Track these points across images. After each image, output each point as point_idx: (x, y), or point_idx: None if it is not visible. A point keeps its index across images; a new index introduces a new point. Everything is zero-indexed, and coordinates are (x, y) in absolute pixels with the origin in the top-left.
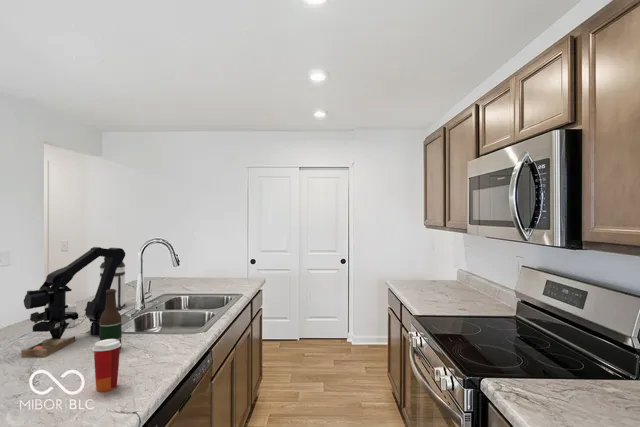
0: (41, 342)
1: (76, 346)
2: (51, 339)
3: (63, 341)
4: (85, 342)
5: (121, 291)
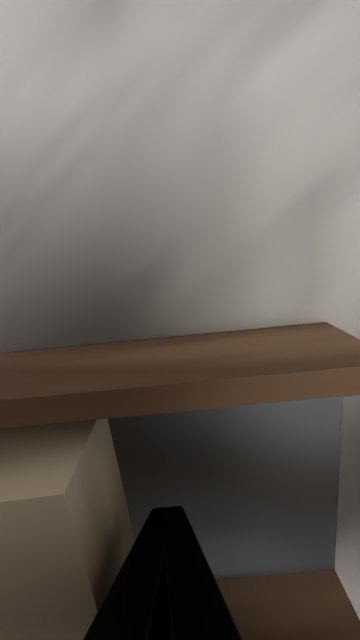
0: (20, 399)
1: None
2: (63, 591)
3: (331, 462)
4: (356, 612)
5: None
